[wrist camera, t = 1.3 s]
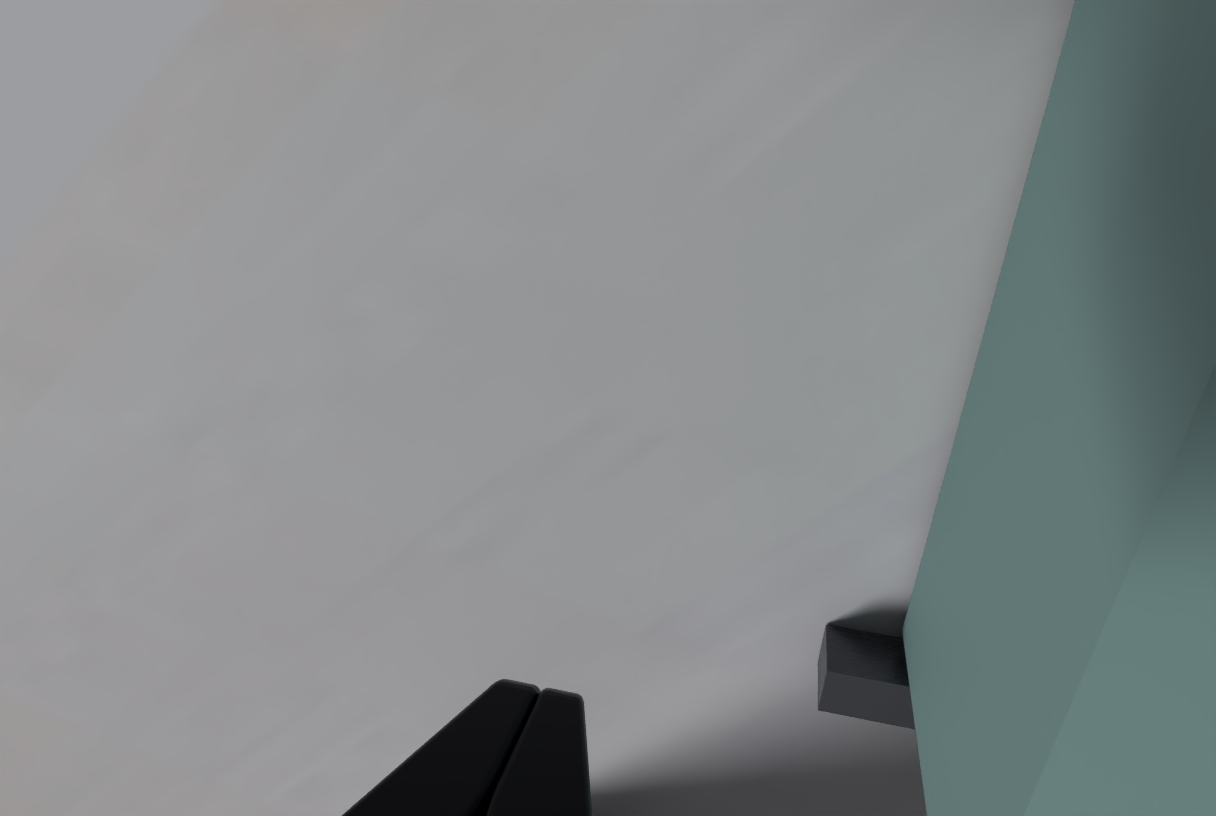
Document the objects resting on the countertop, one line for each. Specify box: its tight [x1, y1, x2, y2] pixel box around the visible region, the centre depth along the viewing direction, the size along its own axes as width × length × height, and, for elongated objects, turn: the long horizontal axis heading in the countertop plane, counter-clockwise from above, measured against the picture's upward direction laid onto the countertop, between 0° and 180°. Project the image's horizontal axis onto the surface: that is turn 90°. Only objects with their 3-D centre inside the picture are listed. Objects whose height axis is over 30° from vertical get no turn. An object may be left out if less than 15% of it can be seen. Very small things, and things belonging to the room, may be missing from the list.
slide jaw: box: [902, 0, 1216, 816], centre depth 12 cm, size 3×13×8 cm, turn 177°
